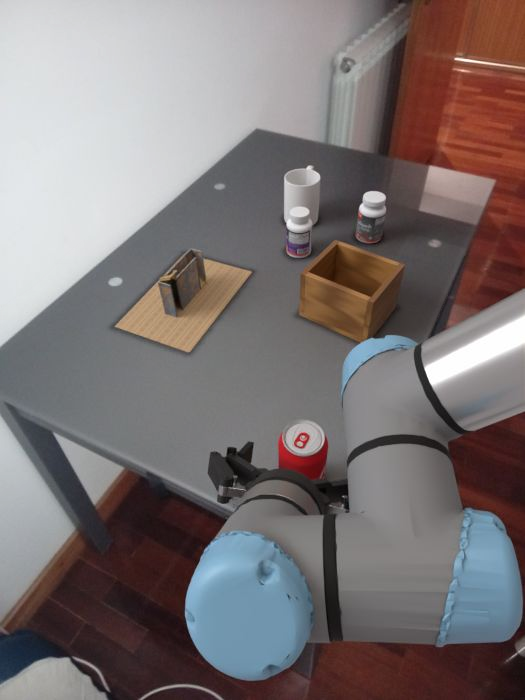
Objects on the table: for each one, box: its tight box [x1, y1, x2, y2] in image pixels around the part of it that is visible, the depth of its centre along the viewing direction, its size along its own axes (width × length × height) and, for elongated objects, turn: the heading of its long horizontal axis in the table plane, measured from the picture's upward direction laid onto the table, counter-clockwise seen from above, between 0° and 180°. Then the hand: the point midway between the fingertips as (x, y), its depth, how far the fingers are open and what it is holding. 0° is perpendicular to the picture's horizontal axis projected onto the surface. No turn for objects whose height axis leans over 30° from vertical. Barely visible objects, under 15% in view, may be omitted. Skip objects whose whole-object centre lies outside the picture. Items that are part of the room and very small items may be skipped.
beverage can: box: [277, 418, 329, 480], centre depth 64 cm, size 6×6×12 cm
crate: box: [298, 239, 406, 344], centre depth 89 cm, size 14×12×10 cm
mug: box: [283, 165, 321, 227], centre depth 112 cm, size 12×8×10 cm, turn 161°
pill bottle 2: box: [355, 190, 387, 244], centre depth 105 cm, size 6×6×10 cm
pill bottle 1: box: [285, 207, 313, 259], centre depth 102 cm, size 5×5×10 cm
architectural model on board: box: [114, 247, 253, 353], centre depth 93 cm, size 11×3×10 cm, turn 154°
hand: (301, 460), depth 63 cm, fingers open, 13 cm apart
